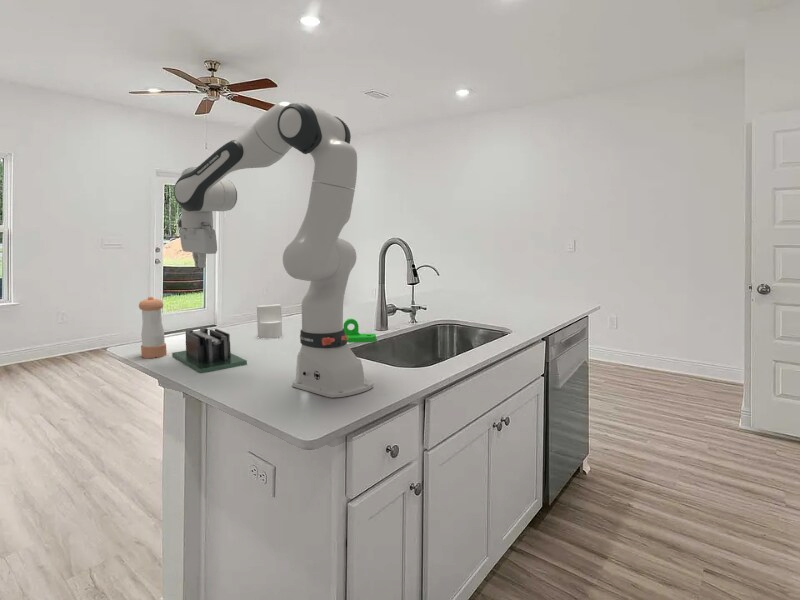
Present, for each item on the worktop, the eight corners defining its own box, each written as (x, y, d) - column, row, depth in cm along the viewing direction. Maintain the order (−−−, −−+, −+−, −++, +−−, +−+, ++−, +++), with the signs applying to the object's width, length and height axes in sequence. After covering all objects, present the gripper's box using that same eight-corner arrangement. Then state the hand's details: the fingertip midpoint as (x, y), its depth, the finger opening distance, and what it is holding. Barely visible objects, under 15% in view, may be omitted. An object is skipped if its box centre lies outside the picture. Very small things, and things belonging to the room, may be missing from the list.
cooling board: (246, 364, 149) (245, 336, 148) (200, 373, 140) (199, 343, 138) (215, 349, 167) (214, 324, 165) (172, 356, 157) (170, 330, 156)
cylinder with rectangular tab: (277, 332, 194) (276, 303, 192) (285, 337, 186) (284, 306, 185) (254, 335, 189) (253, 304, 187) (261, 339, 182) (260, 308, 180)
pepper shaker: (143, 353, 160) (139, 295, 157) (167, 351, 163) (164, 294, 160) (140, 359, 154) (136, 298, 151) (165, 357, 156) (162, 297, 153)
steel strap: (222, 345, 148) (222, 340, 147) (212, 346, 146) (212, 342, 145) (200, 334, 161) (200, 329, 160) (190, 335, 159) (190, 331, 158)
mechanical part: (344, 343, 179) (344, 321, 178) (343, 339, 185) (343, 318, 184) (376, 342, 181) (376, 321, 180) (375, 338, 187) (375, 318, 185)
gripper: (221, 222, 144) (223, 269, 146) (195, 222, 159) (198, 265, 161) (200, 222, 140) (202, 270, 142) (175, 222, 155) (178, 265, 157)
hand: (199, 267), depth 152 cm, fingers closed
